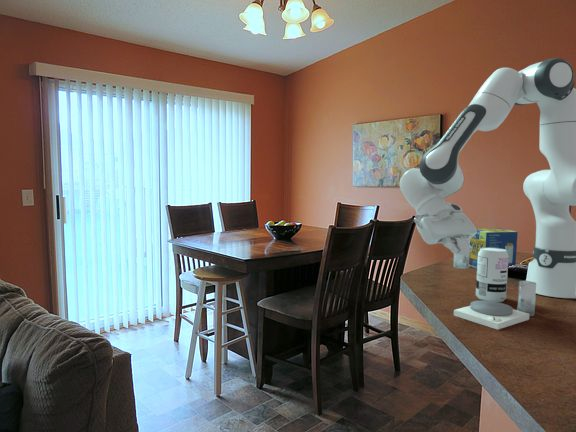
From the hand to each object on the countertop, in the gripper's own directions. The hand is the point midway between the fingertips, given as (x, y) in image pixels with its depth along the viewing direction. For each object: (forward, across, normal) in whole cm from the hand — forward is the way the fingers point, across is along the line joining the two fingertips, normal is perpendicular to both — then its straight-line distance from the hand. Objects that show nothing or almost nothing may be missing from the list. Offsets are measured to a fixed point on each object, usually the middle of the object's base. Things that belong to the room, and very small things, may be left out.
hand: (463, 251), depth 116 cm
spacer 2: (+20, +9, +2) cm, 22 cm away
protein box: (-7, +56, +30) cm, 63 cm away
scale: (+18, -2, +4) cm, 19 cm away
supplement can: (+11, +14, +11) cm, 21 cm away
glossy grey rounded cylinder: (+3, 0, +4) cm, 5 cm away
